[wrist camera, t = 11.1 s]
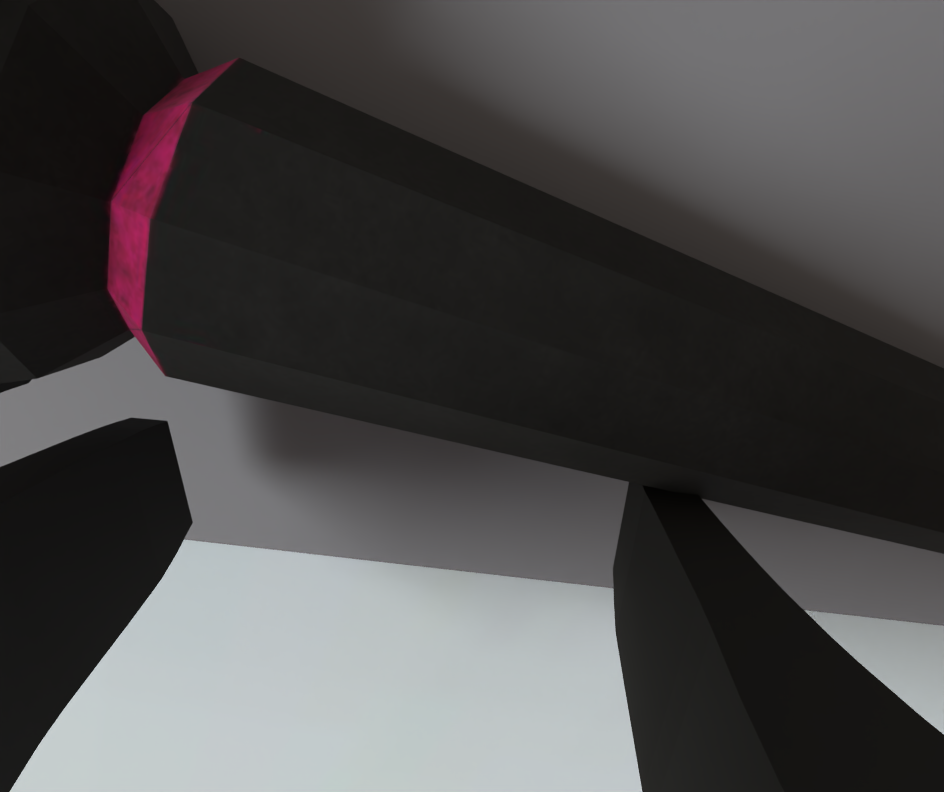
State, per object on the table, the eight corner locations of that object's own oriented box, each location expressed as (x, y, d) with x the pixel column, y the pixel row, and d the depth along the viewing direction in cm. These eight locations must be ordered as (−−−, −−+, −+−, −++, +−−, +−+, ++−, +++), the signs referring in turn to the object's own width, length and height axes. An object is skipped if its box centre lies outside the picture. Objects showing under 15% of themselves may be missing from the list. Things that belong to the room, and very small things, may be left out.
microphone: (1081, 349, 11) (-71, -97, 8) (1731, 442, 6) (-1158, -881, 2) (946, 598, 12) (-121, 295, 9) (1383, 881, 7) (-965, 362, 4)
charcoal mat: (1119, 641, 11) (1123, 645, 11) (-154, 497, 13) (-159, 500, 13) (2196, -712, 4) (2233, -730, 4) (-739, -499, 7) (-756, -507, 7)
